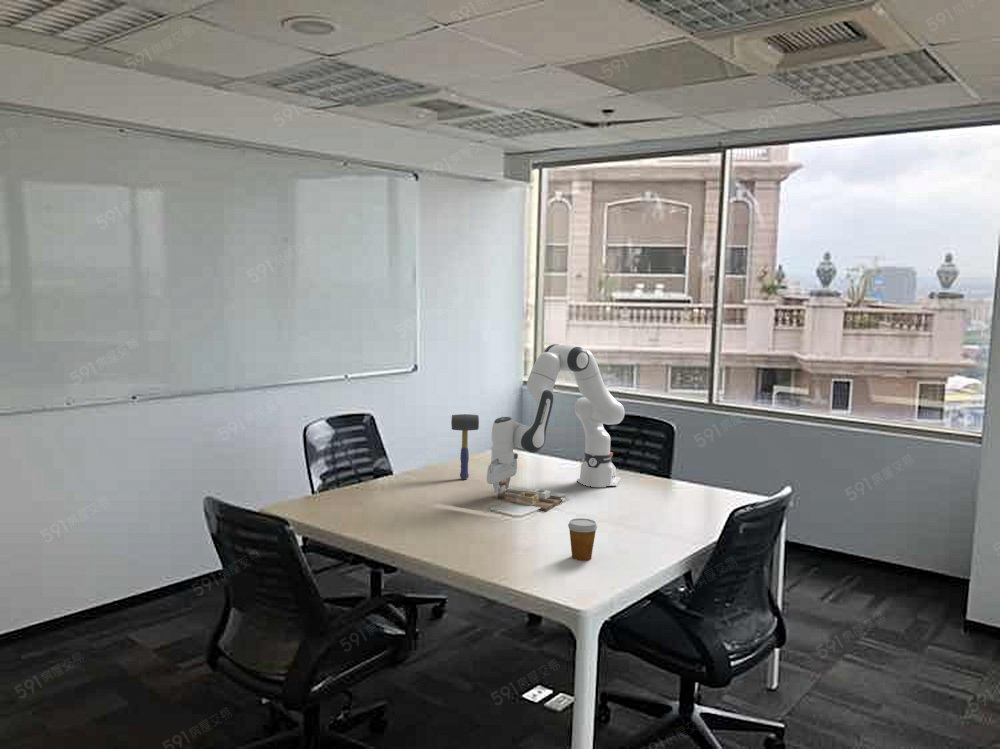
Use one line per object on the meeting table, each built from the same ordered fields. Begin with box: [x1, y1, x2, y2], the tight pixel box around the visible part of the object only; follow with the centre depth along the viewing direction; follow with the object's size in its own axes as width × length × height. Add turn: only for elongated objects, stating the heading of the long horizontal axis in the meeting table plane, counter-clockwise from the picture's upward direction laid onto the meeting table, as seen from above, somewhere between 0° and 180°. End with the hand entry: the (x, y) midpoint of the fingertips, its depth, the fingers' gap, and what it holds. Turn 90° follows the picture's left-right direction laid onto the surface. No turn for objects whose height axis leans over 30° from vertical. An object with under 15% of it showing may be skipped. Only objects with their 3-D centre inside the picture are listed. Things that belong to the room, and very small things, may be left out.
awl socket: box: [515, 492, 540, 506], centre depth 322 cm, size 7×7×3 cm
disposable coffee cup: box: [567, 517, 598, 562], centre depth 261 cm, size 10×10×12 cm
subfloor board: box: [488, 488, 563, 513], centre depth 328 cm, size 16×26×2 cm, turn 62°
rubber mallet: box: [451, 413, 480, 480], centre depth 363 cm, size 12×8×30 cm, turn 95°
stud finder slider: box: [526, 488, 551, 499], centre depth 329 cm, size 5×8×3 cm, turn 62°
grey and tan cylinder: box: [497, 478, 506, 499], centre depth 328 cm, size 4×4×8 cm
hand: (501, 490), depth 328 cm, fingers open, 7 cm apart
